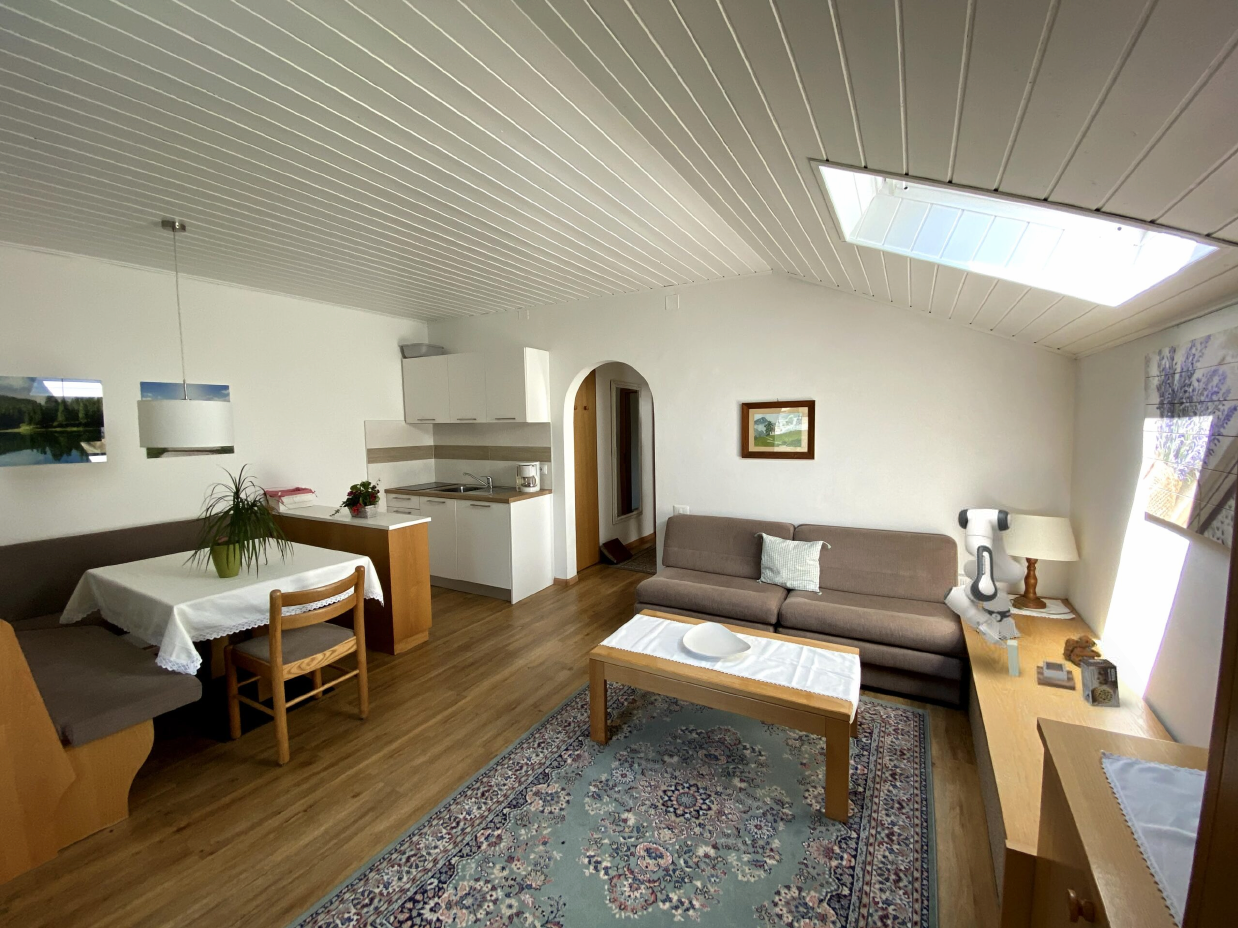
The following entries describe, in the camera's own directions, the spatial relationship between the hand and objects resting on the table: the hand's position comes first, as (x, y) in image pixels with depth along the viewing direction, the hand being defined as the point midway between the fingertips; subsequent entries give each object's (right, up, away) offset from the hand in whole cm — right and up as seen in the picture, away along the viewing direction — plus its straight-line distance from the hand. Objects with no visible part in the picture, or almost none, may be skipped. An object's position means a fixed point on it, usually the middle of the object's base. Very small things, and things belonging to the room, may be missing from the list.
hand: (1006, 643), depth 232 cm
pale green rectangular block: (+3, -13, -1) cm, 13 cm away
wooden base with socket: (+14, -12, -9) cm, 21 cm away
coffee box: (+15, -13, -29) cm, 36 cm away
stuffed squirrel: (+35, -10, +2) cm, 37 cm away
